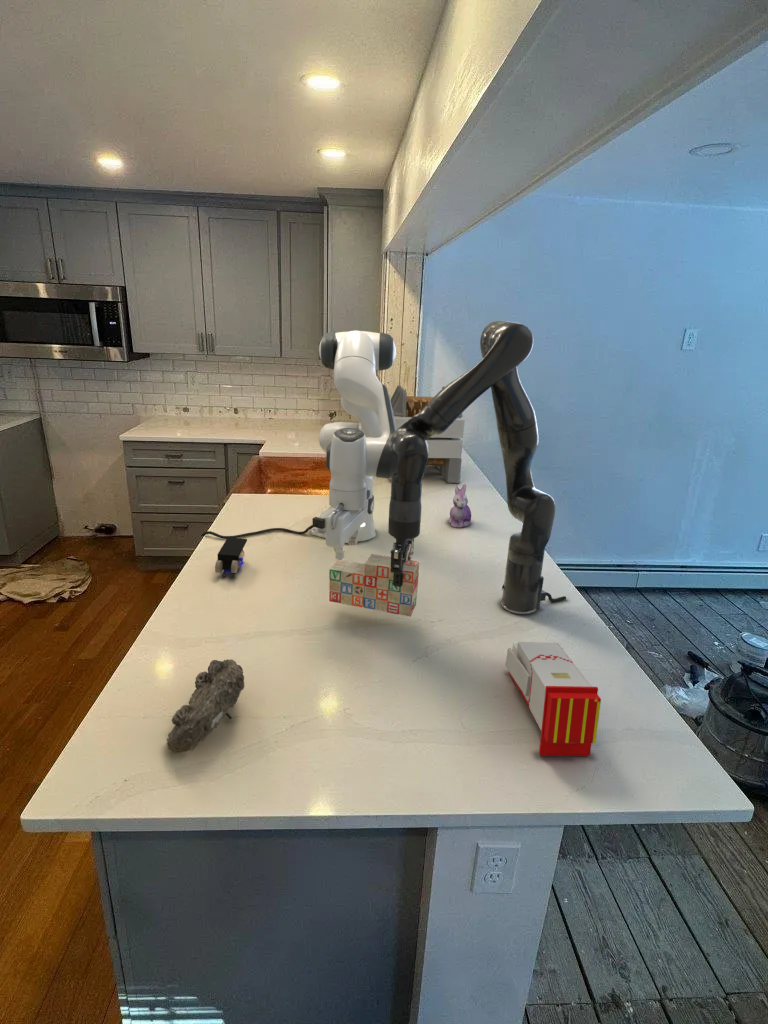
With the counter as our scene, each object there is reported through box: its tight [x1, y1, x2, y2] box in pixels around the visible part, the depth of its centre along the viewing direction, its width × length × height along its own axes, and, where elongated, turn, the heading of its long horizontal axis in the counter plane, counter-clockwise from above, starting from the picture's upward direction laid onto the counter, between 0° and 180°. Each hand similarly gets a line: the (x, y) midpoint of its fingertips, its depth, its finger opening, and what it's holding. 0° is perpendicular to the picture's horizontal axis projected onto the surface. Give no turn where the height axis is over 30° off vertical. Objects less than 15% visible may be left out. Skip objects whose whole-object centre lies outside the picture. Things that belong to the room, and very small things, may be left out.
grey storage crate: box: [389, 384, 465, 484], centre depth 268 cm, size 34×33×41 cm
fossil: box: [166, 658, 245, 754], centre depth 106 cm, size 22×10×15 cm
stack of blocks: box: [328, 553, 420, 618], centre depth 140 cm, size 21×6×12 cm, turn 74°
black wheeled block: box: [214, 537, 248, 578], centre depth 166 cm, size 7×8×15 cm
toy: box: [505, 641, 602, 757], centre depth 113 cm, size 12×13×30 cm
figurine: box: [448, 483, 472, 528], centre depth 209 cm, size 9×10×15 cm
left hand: (346, 551), depth 140 cm, fingers open, 8 cm apart
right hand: (401, 579), depth 138 cm, fingers closed on stack of blocks, 6 cm apart
